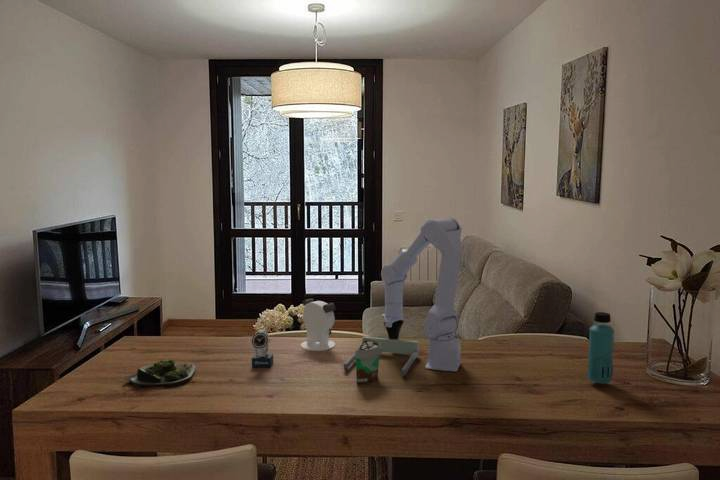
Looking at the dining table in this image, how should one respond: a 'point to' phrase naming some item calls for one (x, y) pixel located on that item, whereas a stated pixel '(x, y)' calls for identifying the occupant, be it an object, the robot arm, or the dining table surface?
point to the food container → (367, 361)
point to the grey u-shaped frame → (393, 351)
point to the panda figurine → (318, 325)
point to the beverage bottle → (601, 350)
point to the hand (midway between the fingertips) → (393, 343)
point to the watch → (261, 350)
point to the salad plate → (162, 374)
